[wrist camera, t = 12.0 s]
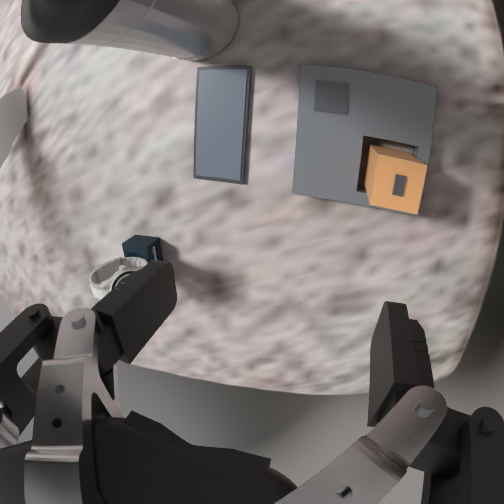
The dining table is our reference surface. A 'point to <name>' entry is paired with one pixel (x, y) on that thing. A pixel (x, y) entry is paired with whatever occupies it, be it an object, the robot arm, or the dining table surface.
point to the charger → (394, 179)
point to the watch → (125, 264)
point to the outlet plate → (355, 127)
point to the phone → (221, 123)
